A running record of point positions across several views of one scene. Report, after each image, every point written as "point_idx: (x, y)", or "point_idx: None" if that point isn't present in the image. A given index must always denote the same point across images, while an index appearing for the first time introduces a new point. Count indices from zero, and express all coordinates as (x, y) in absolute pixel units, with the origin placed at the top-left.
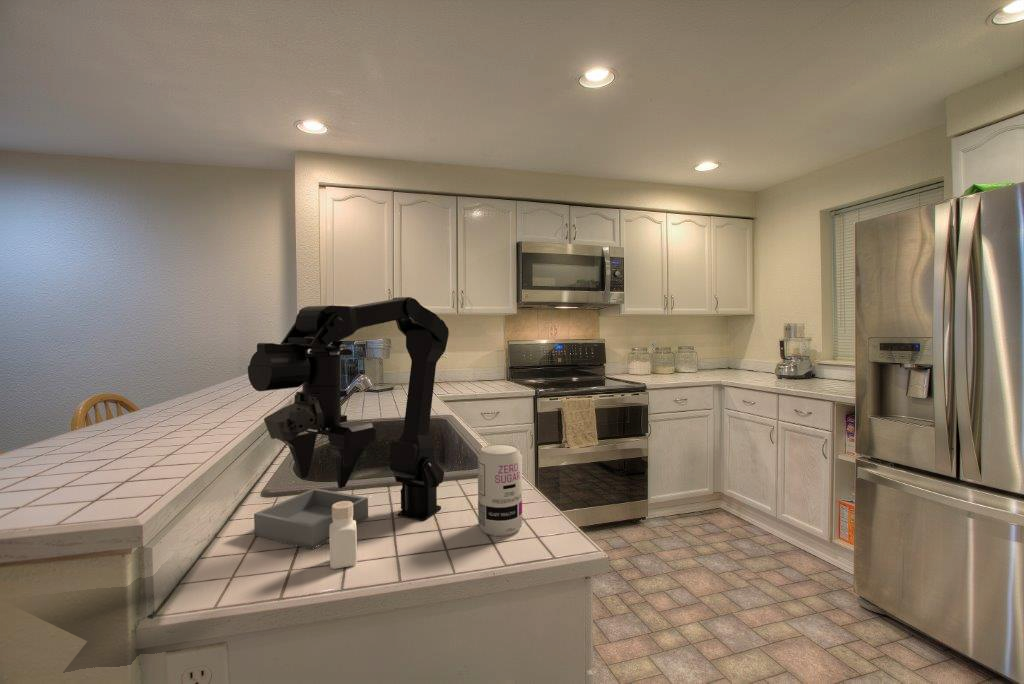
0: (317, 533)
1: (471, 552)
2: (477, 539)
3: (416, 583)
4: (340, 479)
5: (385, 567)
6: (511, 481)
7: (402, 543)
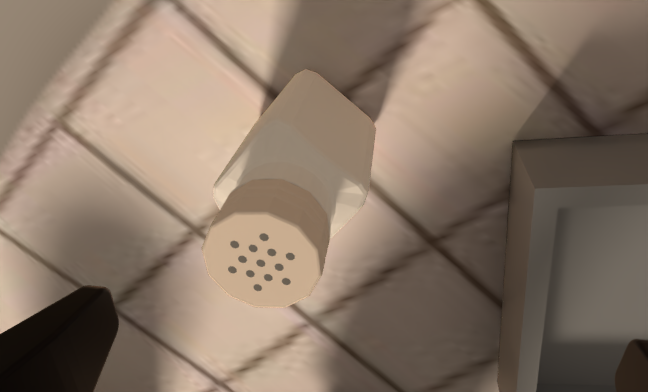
0: (521, 194)
1: None
2: None
3: (14, 136)
4: (6, 333)
5: (167, 164)
6: None
7: None
